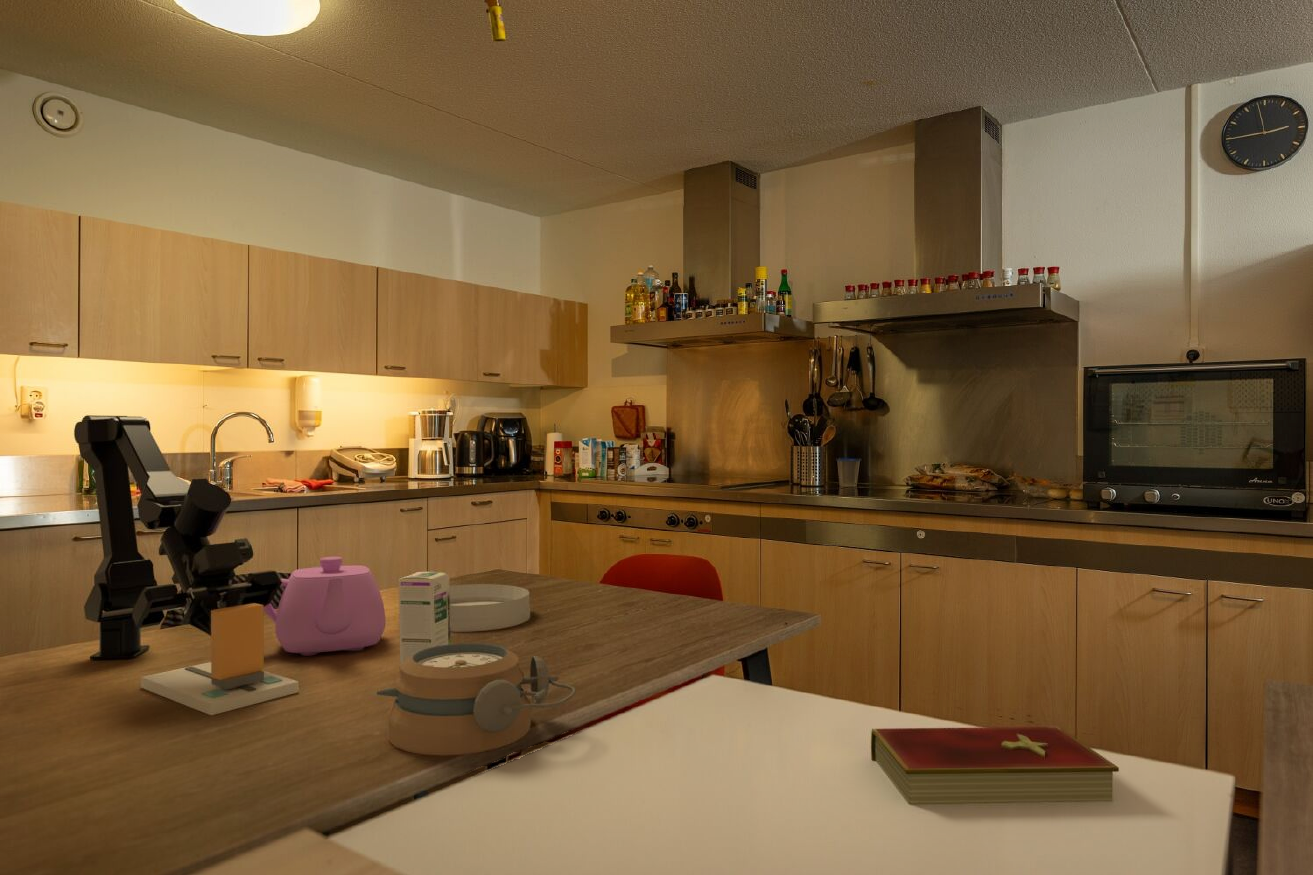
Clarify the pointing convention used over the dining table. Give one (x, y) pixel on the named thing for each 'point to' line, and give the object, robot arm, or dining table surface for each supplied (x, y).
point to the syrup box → (423, 612)
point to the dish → (487, 607)
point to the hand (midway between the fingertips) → (232, 644)
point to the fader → (237, 645)
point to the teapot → (329, 609)
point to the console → (215, 689)
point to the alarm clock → (465, 699)
